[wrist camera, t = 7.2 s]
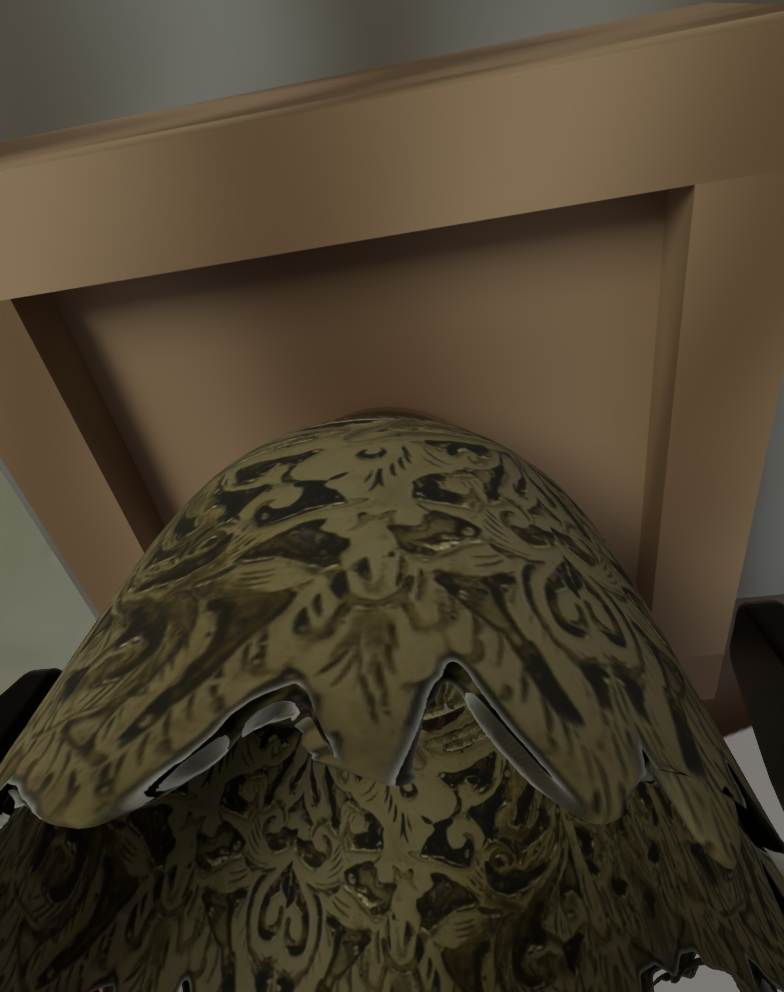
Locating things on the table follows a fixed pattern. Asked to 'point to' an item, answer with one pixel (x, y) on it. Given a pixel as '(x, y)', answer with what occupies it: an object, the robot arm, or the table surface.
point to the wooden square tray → (402, 262)
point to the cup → (380, 750)
